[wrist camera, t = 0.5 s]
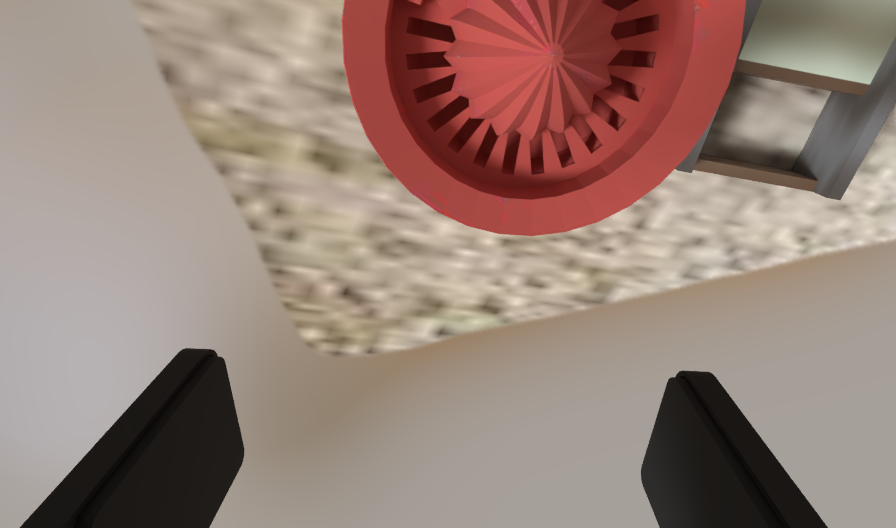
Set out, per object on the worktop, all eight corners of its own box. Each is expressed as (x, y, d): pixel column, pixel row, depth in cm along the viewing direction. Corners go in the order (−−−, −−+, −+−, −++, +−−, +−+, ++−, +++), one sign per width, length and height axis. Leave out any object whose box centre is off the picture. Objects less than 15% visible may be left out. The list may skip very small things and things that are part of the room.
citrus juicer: (485, -175, 28) (526, -556, 10) (660, 40, 33) (899, 39, 15) (333, 37, 33) (182, 32, 15) (503, 195, 38) (538, 333, 20)
